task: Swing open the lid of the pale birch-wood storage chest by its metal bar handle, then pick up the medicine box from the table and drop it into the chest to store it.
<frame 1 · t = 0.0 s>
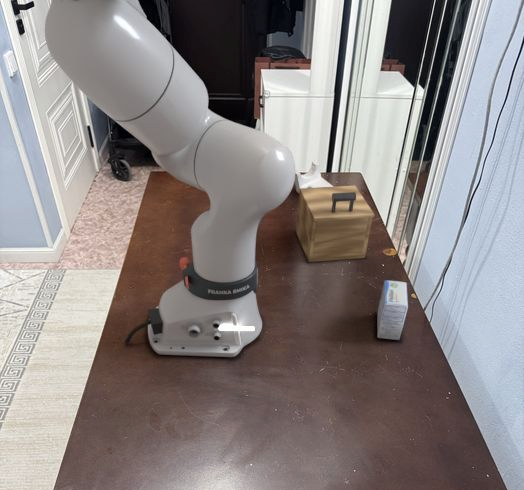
bracket: (315, 200, 139), on the table
chest lid: (336, 193, 112), point 13 cm above the table, hinge at 0.0°
chest: (329, 244, 122), on the table
medicine box: (387, 327, 99), on the table
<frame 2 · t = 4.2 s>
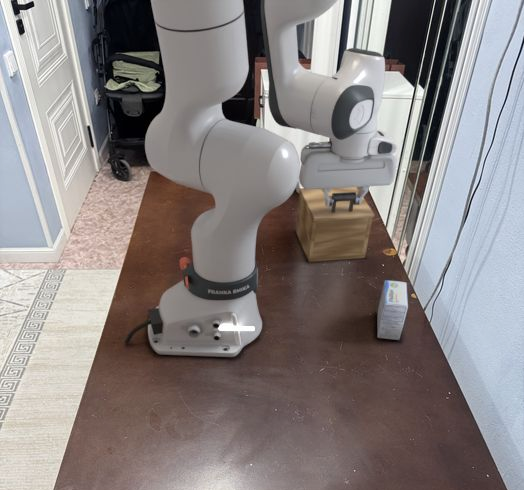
hand: (342, 204, 109), 13 cm above the table, tool pointing down, fingers closed on chest lid, 5 cm apart
chest lid: (336, 193, 112), point 14 cm above the table, hinge at 0.0°, touching gripper
everything else where it was.
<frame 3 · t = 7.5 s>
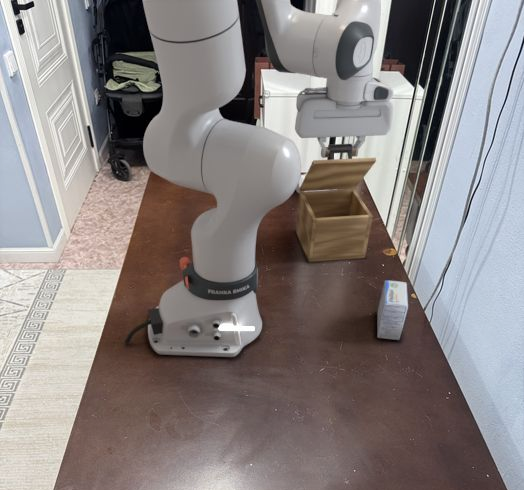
hand: (339, 156, 108), 21 cm above the table, tool pointing down, fingers closed on chest lid, 5 cm apart
chest lid: (334, 166, 112), point 18 cm above the table, hinge at 47.6°, touching gripper
everything else where it was.
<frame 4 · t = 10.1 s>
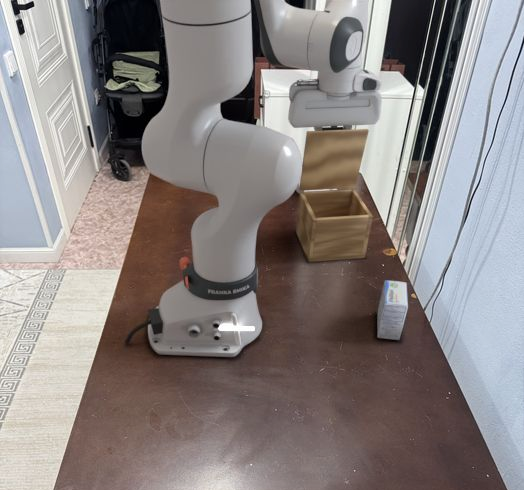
hand: (330, 144, 113), 21 cm above the table, tool pointing down, fingers closed on chest lid, 3 cm apart
chest lid: (330, 155, 114), point 19 cm above the table, hinge at 79.7°, touching gripper
everything else where it was.
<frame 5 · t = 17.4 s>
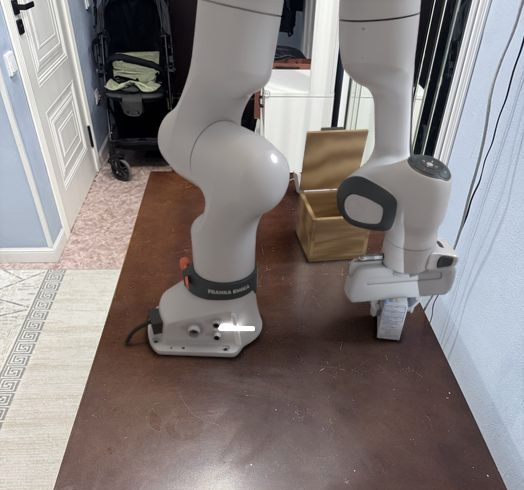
hand: (391, 312, 97), 4 cm above the table, tool pointing down, fingers closed on medicine box, 5 cm apart
chest lid: (330, 155, 114), point 19 cm above the table, hinge at 79.5°
medicine box: (387, 327, 99), on the table, touching gripper
everything else where it was.
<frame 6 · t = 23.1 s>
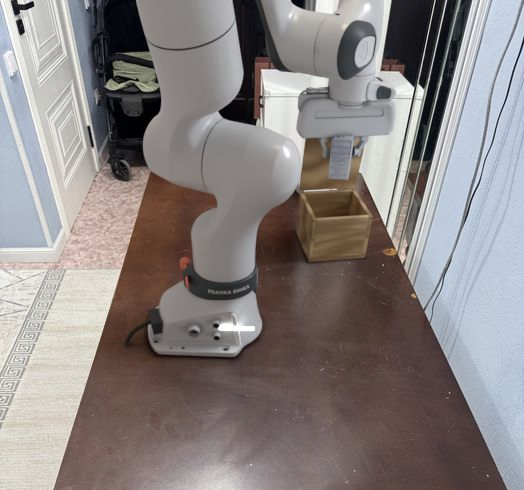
hand: (341, 156, 107), 22 cm above the table, tool pointing down, fingers closed on medicine box, 5 cm apart
chest lid: (329, 155, 114), point 19 cm above the table, hinge at 81.4°
medicine box: (338, 173, 109), point 18 cm above the table, touching gripper
everything else where it was.
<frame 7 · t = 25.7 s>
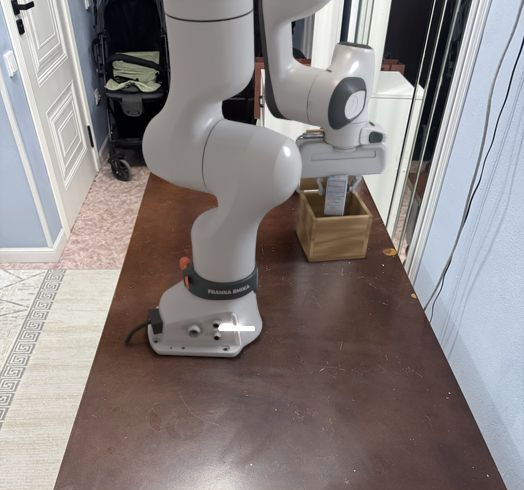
hand: (336, 193, 113), 13 cm above the table, tool pointing down, fingers closed on medicine box, 5 cm apart
chest lid: (329, 155, 114), point 19 cm above the table, hinge at 82.2°, touching arm
medicine box: (334, 208, 115), point 10 cm above the table, touching gripper
everything else where it was.
when the fingers open (13 cm above the table, at t = 25.8 s): medicine box drops 9 cm, resting on chest.
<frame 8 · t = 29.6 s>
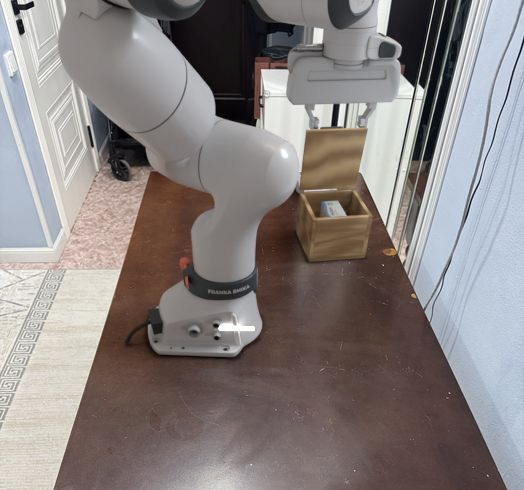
hand: (337, 127, 93), 31 cm above the table, tool pointing down, fingers open, 8 cm apart
chest lid: (329, 155, 114), point 19 cm above the table, hinge at 82.2°
medicine box: (329, 241, 121), point 1 cm above the table, touching chest
everything else where it was.
at the end: chest lid at +82° (first picture: +0°); medicine box inside the target area in the chest (0.3 cm from its centre), point 0.7 cm above the chest's base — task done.
